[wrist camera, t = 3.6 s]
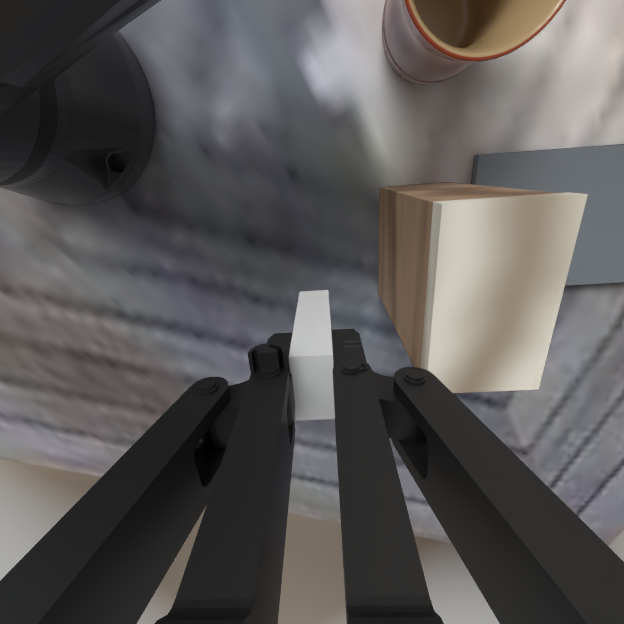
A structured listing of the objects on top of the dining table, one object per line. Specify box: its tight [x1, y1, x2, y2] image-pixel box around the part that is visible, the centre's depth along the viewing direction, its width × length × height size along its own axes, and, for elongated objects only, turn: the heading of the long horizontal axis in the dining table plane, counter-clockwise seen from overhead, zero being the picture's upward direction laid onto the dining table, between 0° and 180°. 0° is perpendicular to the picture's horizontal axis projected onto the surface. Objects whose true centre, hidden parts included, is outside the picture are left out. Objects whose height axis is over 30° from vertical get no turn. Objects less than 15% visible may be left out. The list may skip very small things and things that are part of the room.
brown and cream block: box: [378, 182, 588, 393], centre depth 23 cm, size 6×10×16 cm, turn 4°
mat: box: [472, 144, 624, 285], centre depth 29 cm, size 18×12×1 cm, turn 94°
